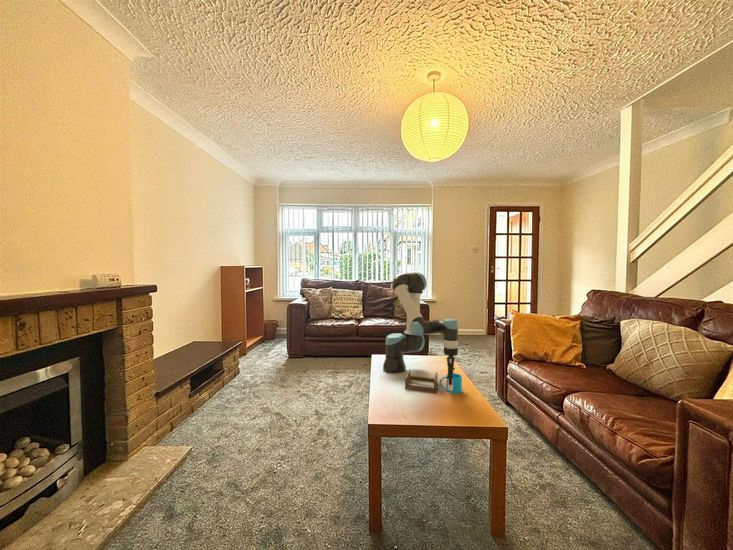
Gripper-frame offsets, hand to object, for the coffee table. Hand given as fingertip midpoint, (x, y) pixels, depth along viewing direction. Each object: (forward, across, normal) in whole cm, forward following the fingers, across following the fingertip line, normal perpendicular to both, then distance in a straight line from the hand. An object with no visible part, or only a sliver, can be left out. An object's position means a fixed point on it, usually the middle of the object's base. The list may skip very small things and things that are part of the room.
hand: (450, 385), depth 164 cm
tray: (+2, -2, -16) cm, 16 cm away
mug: (+3, 0, 0) cm, 3 cm away
